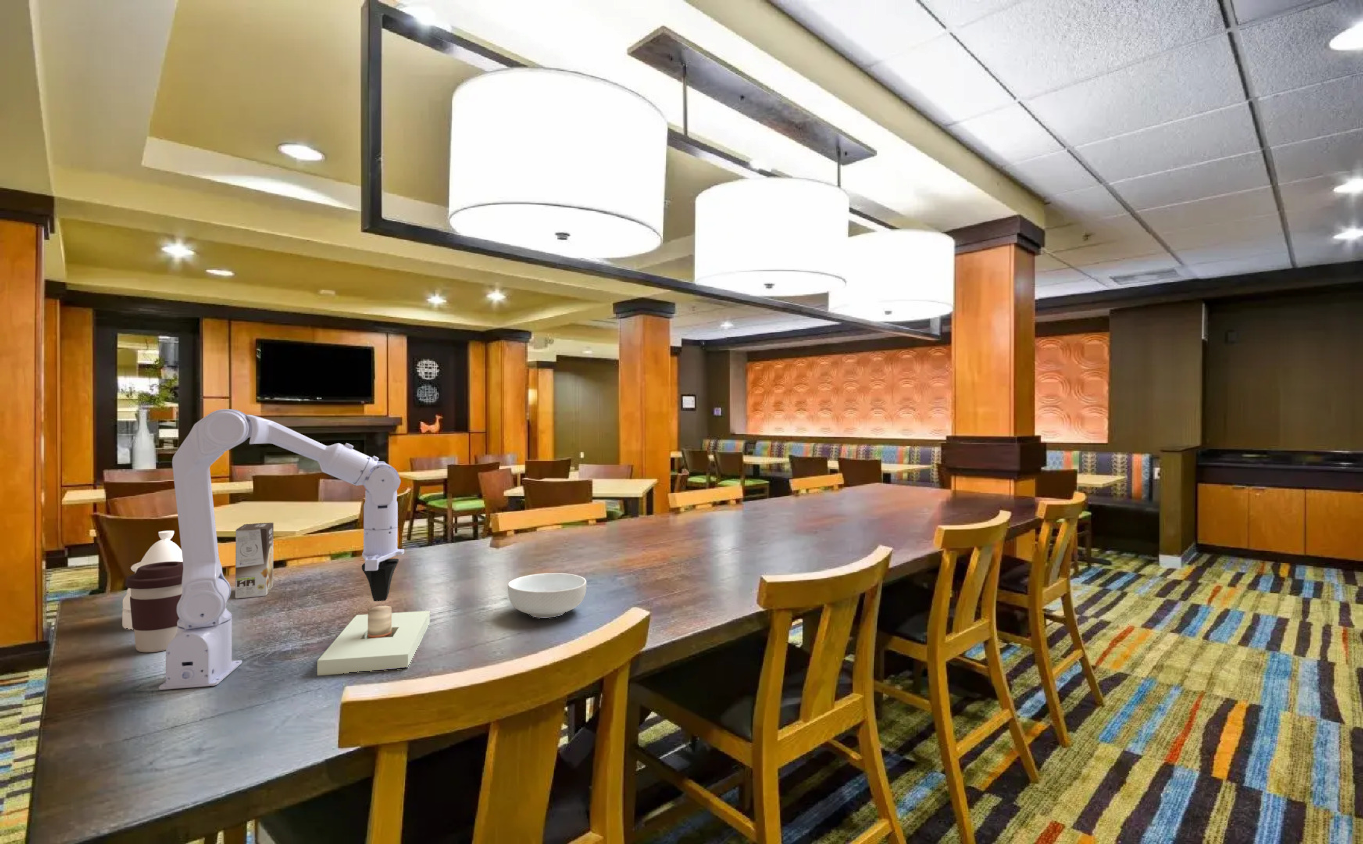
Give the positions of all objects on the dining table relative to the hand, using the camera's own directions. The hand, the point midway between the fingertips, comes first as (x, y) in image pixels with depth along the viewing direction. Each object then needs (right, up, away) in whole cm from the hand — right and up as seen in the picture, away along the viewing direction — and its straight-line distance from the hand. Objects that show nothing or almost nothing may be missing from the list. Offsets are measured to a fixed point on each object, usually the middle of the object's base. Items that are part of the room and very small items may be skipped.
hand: (380, 600), depth 117 cm
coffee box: (-46, -8, +33) cm, 57 cm away
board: (0, -9, 0) cm, 9 cm away
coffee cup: (-40, -8, -1) cm, 41 cm away
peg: (0, -9, 0) cm, 9 cm away
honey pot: (-52, -8, +13) cm, 54 cm away
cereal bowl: (+27, -9, +21) cm, 35 cm away
